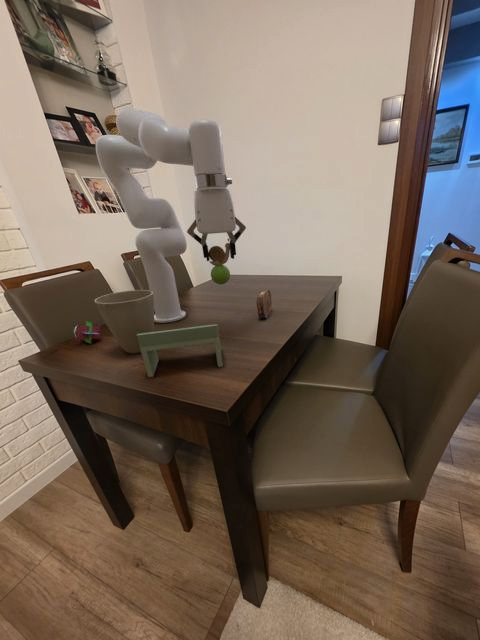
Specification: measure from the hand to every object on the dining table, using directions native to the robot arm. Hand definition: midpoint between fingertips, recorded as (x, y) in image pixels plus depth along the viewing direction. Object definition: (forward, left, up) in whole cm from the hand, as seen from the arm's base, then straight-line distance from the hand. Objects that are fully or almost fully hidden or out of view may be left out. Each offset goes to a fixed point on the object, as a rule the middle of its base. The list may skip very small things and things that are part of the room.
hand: (220, 258), depth 77 cm
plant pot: (0, -27, -24) cm, 36 cm away
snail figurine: (0, 0, -7) cm, 7 cm away
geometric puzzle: (-11, -44, -24) cm, 52 cm away
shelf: (+15, -12, -23) cm, 30 cm away
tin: (-17, +15, -24) cm, 33 cm away
